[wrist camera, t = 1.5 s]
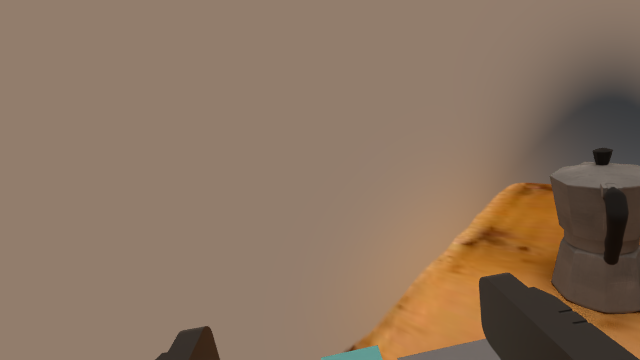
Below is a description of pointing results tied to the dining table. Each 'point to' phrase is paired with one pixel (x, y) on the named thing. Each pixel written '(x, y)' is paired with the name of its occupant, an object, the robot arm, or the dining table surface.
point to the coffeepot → (599, 234)
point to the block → (357, 355)
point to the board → (459, 352)
